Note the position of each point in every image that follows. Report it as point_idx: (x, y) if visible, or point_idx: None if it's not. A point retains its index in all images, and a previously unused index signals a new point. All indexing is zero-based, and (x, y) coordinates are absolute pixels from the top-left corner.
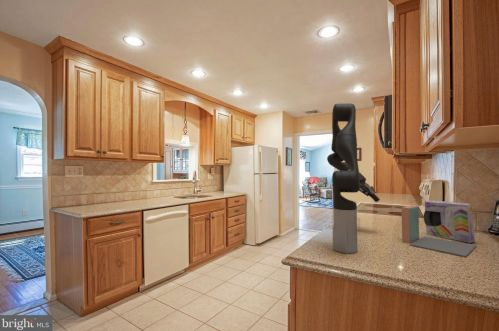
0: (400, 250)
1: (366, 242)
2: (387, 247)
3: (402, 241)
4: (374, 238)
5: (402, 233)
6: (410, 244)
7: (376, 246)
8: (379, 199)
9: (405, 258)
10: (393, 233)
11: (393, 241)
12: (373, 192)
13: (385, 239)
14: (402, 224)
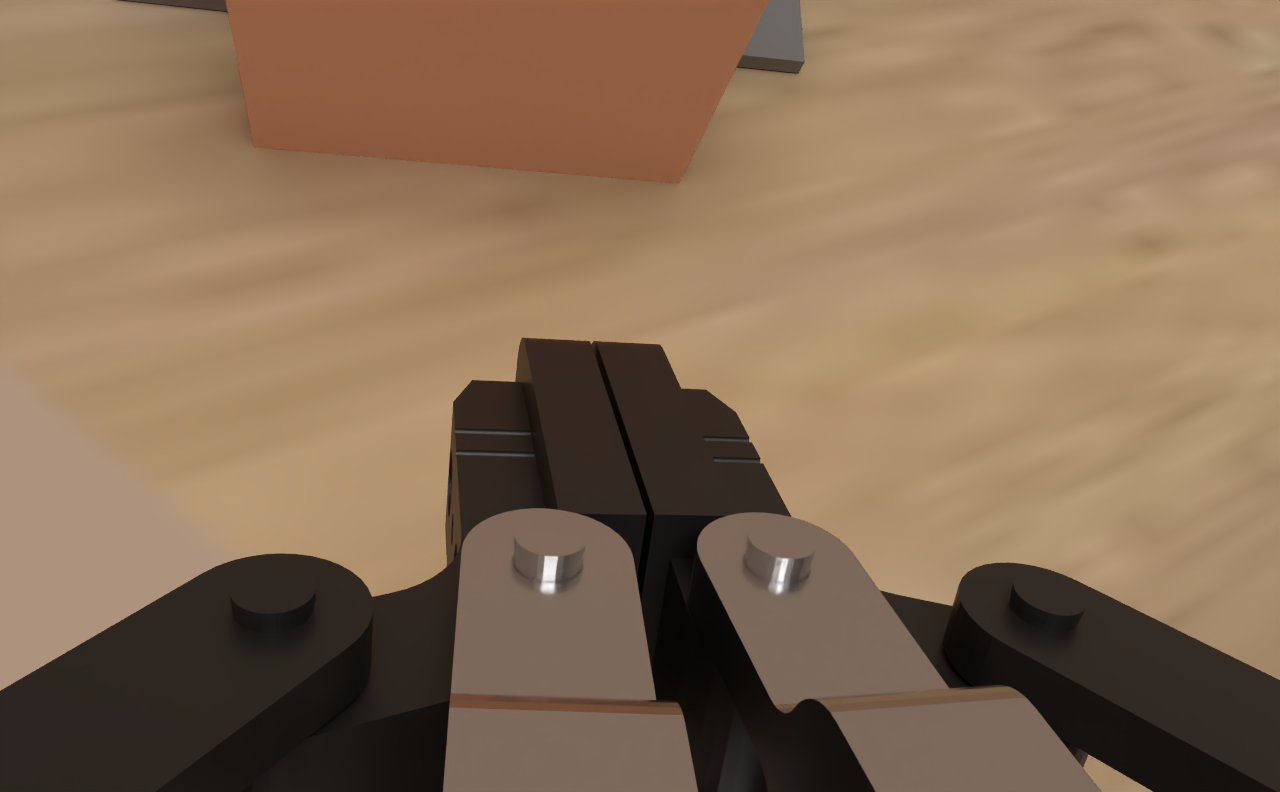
0: (1083, 107)
1: (1151, 522)
2: (1108, 243)
3: (678, 178)
4: (848, 538)
5: (714, 105)
6: (802, 53)
7: (1190, 351)
8: (550, 344)
9: (1276, 18)
10: (193, 443)
11: (769, 274)
12: (583, 589)
13: (758, 393)
14: (765, 2)
